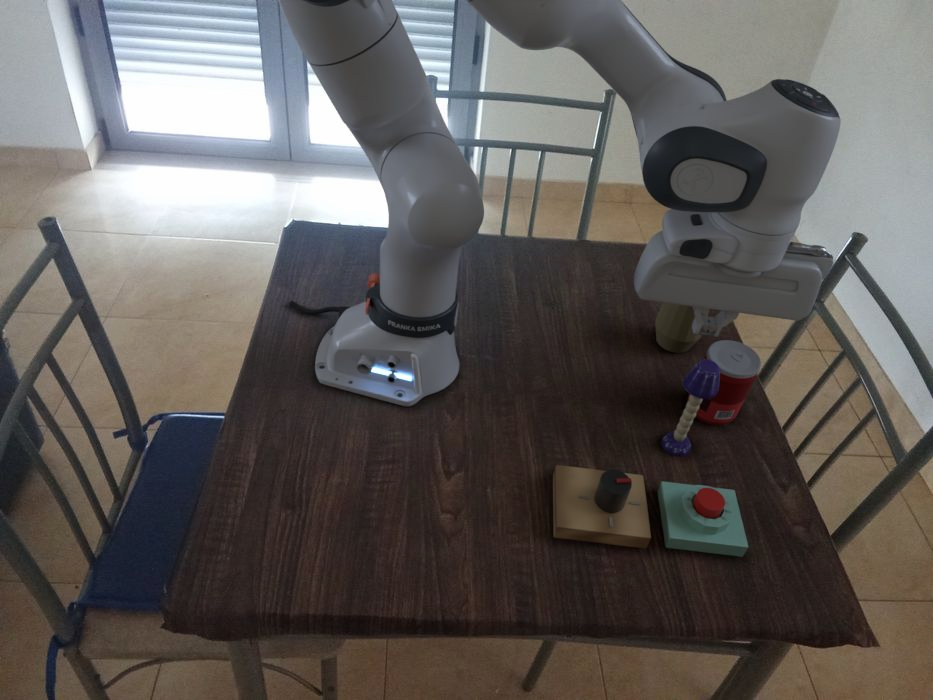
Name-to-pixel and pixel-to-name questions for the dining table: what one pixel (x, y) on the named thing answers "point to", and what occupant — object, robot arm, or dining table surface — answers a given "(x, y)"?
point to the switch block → (700, 521)
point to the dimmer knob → (612, 491)
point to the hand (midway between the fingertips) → (704, 332)
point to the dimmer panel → (597, 510)
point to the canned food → (729, 381)
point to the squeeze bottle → (676, 327)
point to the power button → (708, 503)
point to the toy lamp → (692, 404)
